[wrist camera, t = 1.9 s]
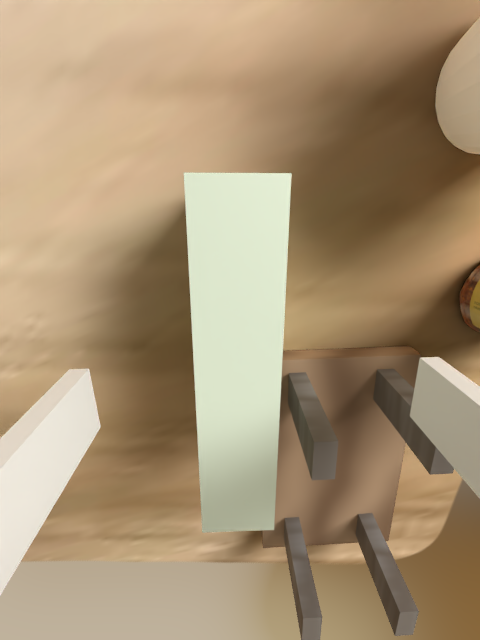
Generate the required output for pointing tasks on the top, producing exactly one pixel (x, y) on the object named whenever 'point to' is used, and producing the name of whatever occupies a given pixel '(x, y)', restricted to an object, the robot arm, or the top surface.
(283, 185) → the door panel
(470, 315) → the sauce bottle
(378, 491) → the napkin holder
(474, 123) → the cup
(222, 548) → the top surface
